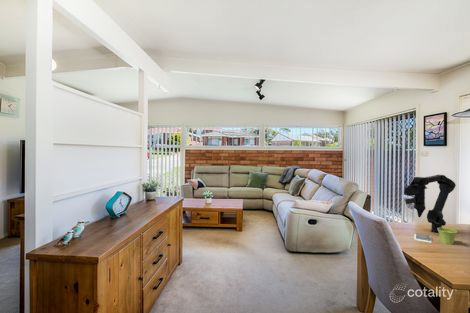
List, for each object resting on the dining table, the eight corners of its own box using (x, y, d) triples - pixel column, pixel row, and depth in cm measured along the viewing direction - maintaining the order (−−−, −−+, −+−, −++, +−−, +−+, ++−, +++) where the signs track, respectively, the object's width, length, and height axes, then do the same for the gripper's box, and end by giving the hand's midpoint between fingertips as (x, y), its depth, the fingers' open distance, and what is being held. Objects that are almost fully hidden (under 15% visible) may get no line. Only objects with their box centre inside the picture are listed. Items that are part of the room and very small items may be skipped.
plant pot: (460, 247, 146) (461, 233, 146) (442, 245, 148) (443, 231, 148) (450, 241, 155) (450, 228, 155) (433, 240, 157) (433, 227, 157)
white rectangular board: (414, 234, 168) (414, 233, 168) (430, 237, 163) (430, 236, 163) (413, 240, 157) (413, 239, 157) (431, 243, 152) (431, 242, 152)
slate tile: (416, 232, 165) (415, 236, 159) (429, 235, 161) (429, 238, 155) (416, 235, 165) (415, 238, 159) (429, 237, 161) (429, 241, 155)
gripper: (406, 192, 181) (405, 212, 182) (405, 195, 167) (404, 218, 167) (424, 193, 175) (424, 215, 175) (425, 197, 160) (425, 220, 160)
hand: (419, 217), depth 169 cm, fingers closed
